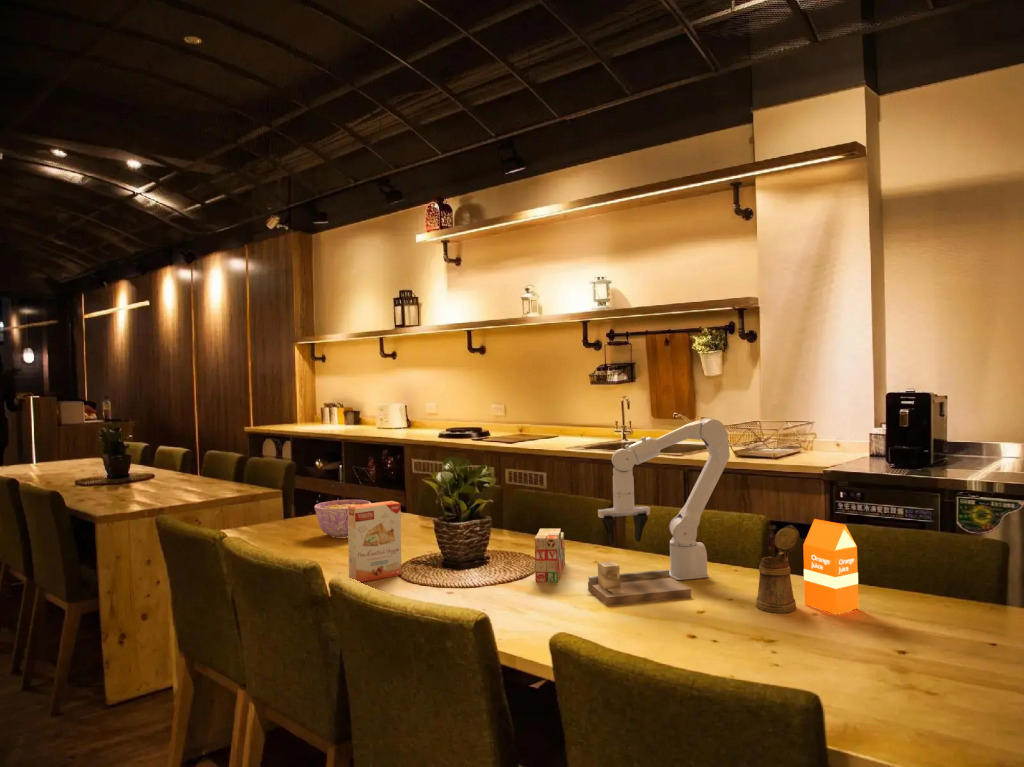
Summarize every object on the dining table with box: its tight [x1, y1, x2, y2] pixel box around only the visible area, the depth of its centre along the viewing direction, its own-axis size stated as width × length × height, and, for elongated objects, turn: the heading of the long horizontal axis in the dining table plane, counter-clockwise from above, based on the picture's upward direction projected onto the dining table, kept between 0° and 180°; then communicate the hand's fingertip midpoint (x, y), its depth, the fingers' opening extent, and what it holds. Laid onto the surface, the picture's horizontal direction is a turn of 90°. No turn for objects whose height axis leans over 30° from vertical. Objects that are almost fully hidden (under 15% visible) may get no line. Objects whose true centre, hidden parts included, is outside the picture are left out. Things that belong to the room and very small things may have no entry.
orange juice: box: [802, 518, 859, 614], centre depth 169 cm, size 8×9×20 cm
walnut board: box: [587, 569, 692, 606], centre depth 184 cm, size 22×14×4 cm, turn 103°
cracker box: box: [347, 500, 402, 583], centre depth 205 cm, size 14×6×21 cm, turn 125°
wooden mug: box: [755, 524, 801, 614], centre depth 172 cm, size 9×14×18 cm, turn 133°
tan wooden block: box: [597, 560, 621, 589], centre depth 184 cm, size 4×5×6 cm
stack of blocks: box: [534, 528, 566, 583], centre depth 206 cm, size 21×6×12 cm, turn 171°
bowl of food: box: [314, 499, 372, 537], centre depth 263 cm, size 20×20×12 cm
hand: (624, 541), depth 200 cm, fingers open, 7 cm apart
